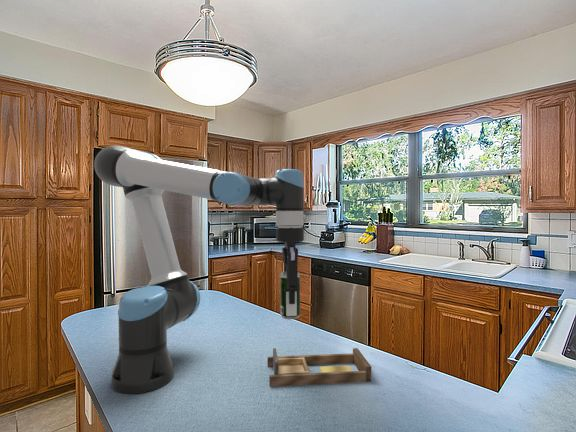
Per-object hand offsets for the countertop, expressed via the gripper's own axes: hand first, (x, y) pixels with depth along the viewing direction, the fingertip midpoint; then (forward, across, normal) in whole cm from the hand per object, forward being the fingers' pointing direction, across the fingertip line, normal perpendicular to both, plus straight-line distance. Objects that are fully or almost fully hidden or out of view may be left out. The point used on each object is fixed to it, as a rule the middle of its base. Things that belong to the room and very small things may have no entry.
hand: (290, 311), depth 93 cm
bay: (+17, 0, -7) cm, 19 cm away
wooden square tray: (+17, 0, 0) cm, 17 cm away
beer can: (+1, 0, 0) cm, 1 cm away
